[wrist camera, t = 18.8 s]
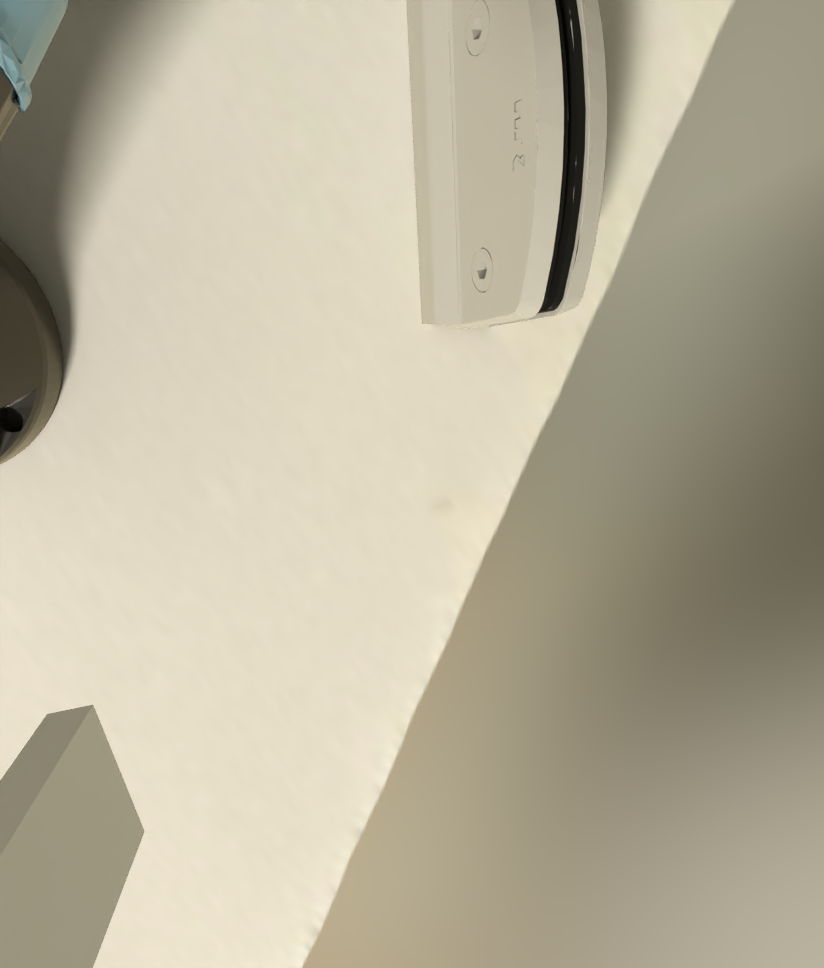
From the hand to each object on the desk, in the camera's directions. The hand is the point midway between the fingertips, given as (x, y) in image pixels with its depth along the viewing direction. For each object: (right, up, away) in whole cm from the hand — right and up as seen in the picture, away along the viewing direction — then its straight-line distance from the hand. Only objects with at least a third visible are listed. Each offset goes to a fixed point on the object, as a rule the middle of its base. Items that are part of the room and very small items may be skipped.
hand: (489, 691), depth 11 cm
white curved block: (+3, +21, +24) cm, 32 cm away
